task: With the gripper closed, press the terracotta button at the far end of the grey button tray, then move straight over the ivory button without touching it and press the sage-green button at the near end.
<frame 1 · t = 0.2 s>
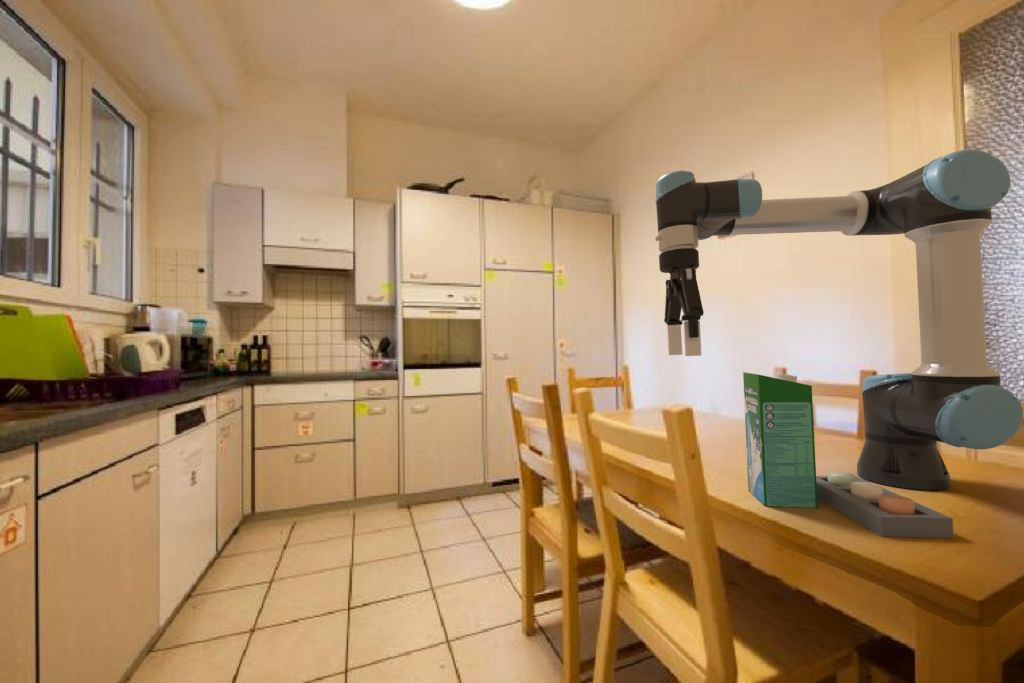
hand: (683, 355, 86), 29 cm above the table, fingers open, 13 cm apart
sage button: (841, 481, 84), point 3 cm above the table, slide at 0.0 cm
grey button tray: (867, 510, 77), on the table
terracotta button: (896, 507, 70), point 3 cm above the table, slide at 0.0 cm
milk carton: (781, 500, 84), on the table
ivory button: (866, 493, 77), point 3 cm above the table, slide at 0.0 cm
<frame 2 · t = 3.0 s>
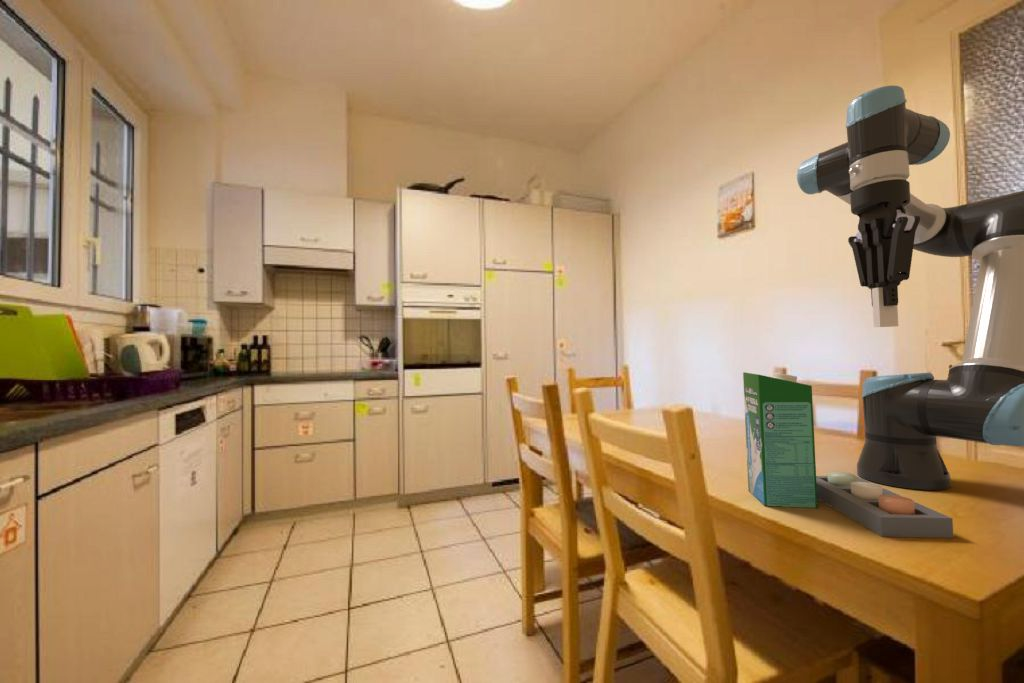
hand: (885, 326, 71), 33 cm above the table, fingers closed
nothing on the table moved.
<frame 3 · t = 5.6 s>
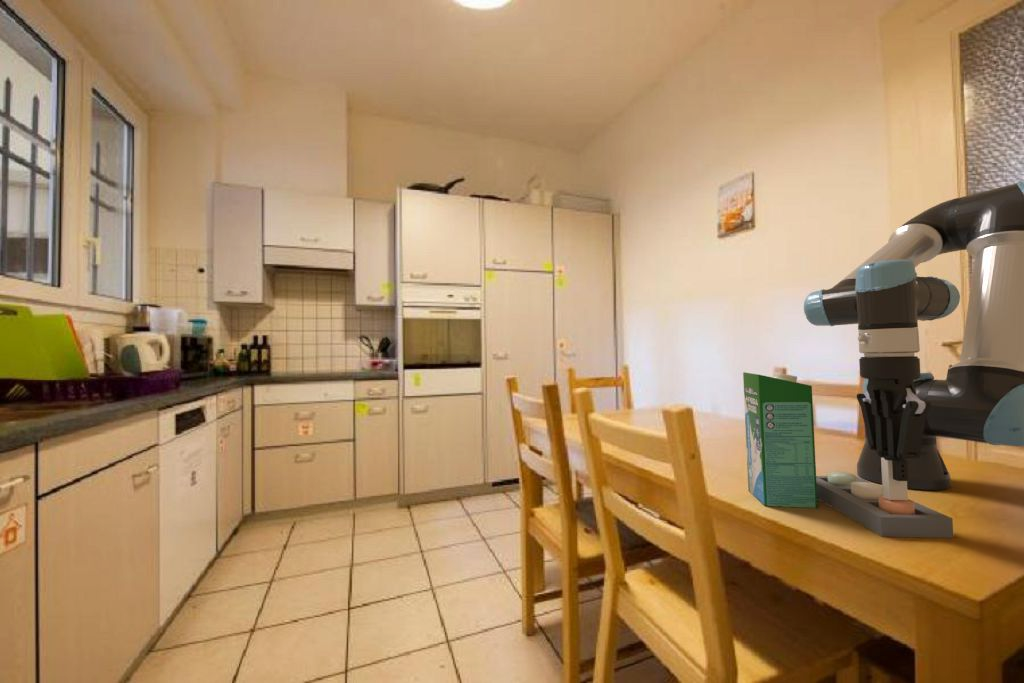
hand: (895, 498, 70), 5 cm above the table, fingers closed
terracotta button: (896, 508, 70), point 3 cm above the table, slide at -0.1 cm, touching gripper
everything else where it was.
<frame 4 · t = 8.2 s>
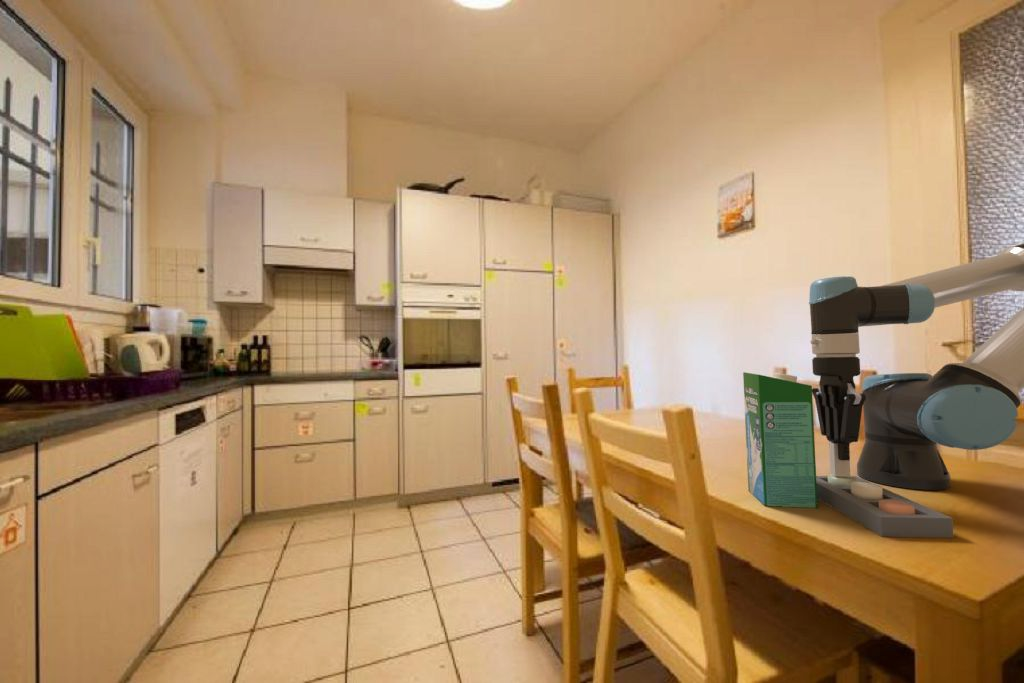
hand: (840, 475, 84), 4 cm above the table, fingers closed
sage button: (841, 484, 84), point 3 cm above the table, slide at -0.5 cm, touching gripper
terracotta button: (896, 513, 70), point 2 cm above the table, slide at -0.9 cm
everything else where it was.
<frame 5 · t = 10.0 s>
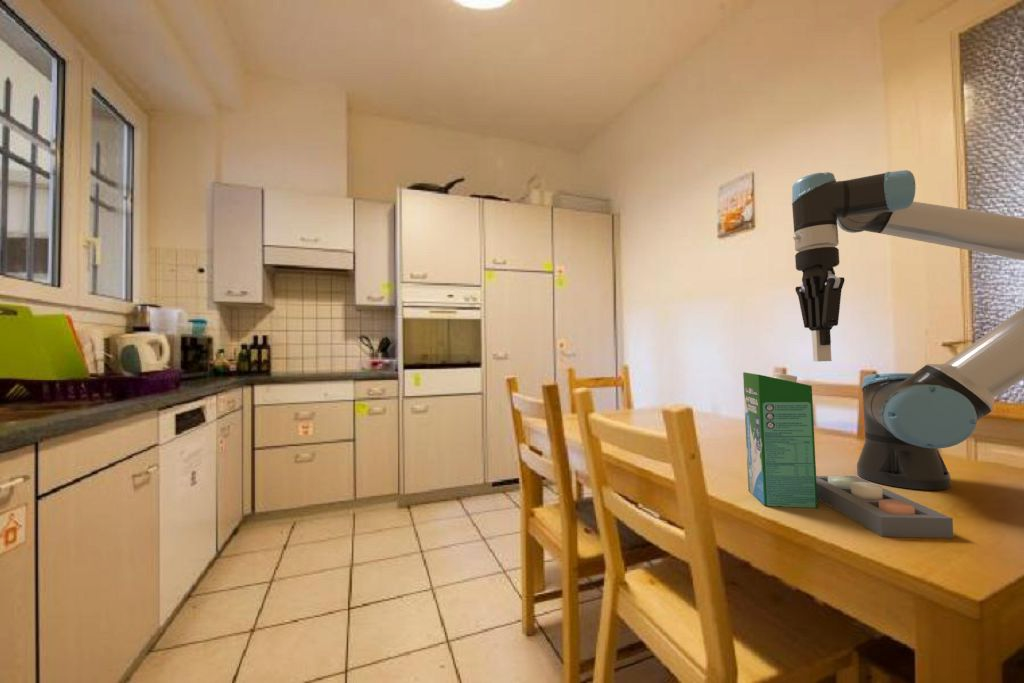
hand: (822, 361, 89), 27 cm above the table, fingers closed
sage button: (841, 486, 84), point 2 cm above the table, slide at -0.9 cm
everything else where it was.
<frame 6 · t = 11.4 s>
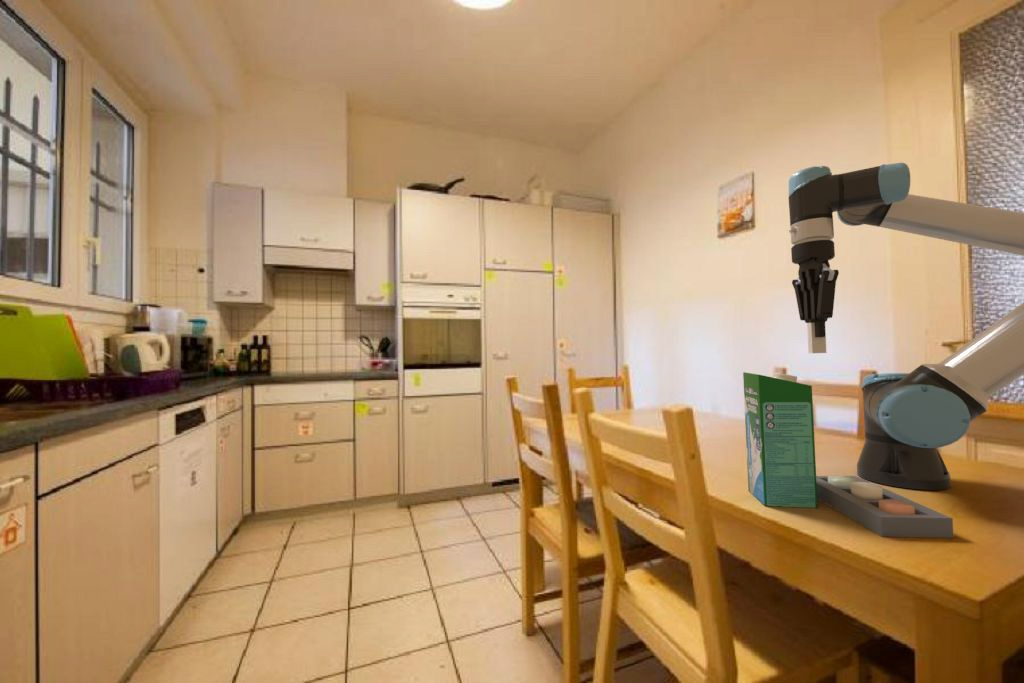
hand: (817, 353, 90), 28 cm above the table, fingers closed
nothing on the table moved.
at the end: terracotta button slide at -0.9 cm; sage button slide at -0.9 cm; ivory button slide at 0.0 cm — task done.
